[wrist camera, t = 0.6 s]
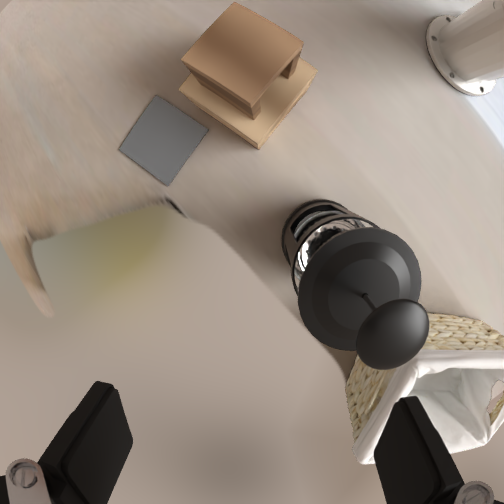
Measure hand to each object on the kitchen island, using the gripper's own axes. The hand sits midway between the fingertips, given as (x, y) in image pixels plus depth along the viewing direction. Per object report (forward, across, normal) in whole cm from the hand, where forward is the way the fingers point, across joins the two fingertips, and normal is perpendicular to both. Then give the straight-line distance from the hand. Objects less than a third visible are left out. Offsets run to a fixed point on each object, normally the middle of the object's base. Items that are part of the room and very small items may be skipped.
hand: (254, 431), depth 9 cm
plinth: (+28, +2, -16) cm, 33 cm away
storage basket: (+29, -24, +17) cm, 41 cm away
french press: (+29, -7, 0) cm, 29 cm away
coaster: (+28, +12, -12) cm, 33 cm away
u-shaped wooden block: (+20, +2, -16) cm, 26 cm away
